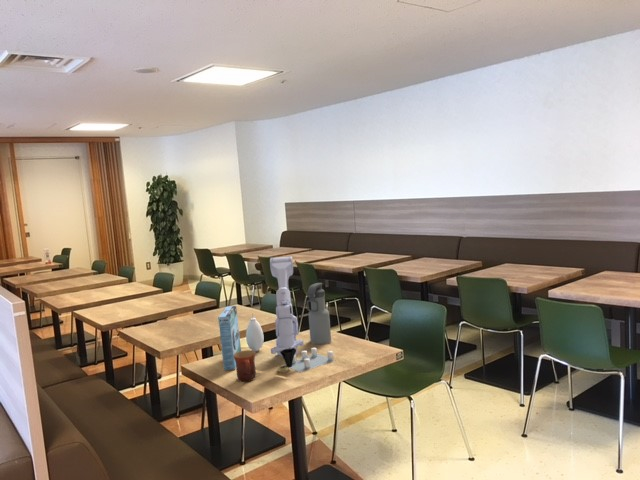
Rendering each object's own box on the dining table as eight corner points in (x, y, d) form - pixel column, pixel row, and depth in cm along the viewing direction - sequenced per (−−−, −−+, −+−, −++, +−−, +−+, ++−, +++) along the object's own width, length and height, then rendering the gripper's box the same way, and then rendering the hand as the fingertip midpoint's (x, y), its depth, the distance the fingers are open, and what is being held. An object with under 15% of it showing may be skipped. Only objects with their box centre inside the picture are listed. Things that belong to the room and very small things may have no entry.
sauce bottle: (244, 351, 239) (240, 313, 237) (258, 347, 244) (254, 309, 242) (253, 354, 233) (250, 315, 231) (267, 350, 238) (264, 312, 236)
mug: (234, 377, 207) (231, 352, 206) (256, 373, 209) (253, 349, 208) (238, 387, 195) (235, 361, 194) (261, 383, 198) (258, 357, 196)
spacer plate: (282, 366, 215) (281, 356, 214) (317, 355, 225) (316, 345, 225) (300, 374, 204) (299, 363, 204) (336, 362, 215) (335, 352, 215)
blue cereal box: (235, 370, 215) (229, 316, 213) (222, 370, 215) (217, 317, 213) (241, 354, 235) (237, 305, 232) (230, 355, 235) (225, 306, 232)
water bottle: (323, 347, 236) (318, 287, 233) (306, 344, 242) (301, 286, 239) (335, 340, 245) (330, 282, 242) (318, 338, 250) (313, 281, 247)
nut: (276, 372, 208) (275, 367, 208) (284, 368, 211) (283, 363, 210) (282, 375, 205) (281, 370, 204) (290, 371, 207) (289, 366, 207)
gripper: (276, 340, 200) (279, 374, 201) (306, 331, 208) (309, 364, 210) (266, 336, 206) (269, 369, 207) (296, 328, 214) (299, 360, 215)
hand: (289, 366), depth 209 cm, fingers closed
